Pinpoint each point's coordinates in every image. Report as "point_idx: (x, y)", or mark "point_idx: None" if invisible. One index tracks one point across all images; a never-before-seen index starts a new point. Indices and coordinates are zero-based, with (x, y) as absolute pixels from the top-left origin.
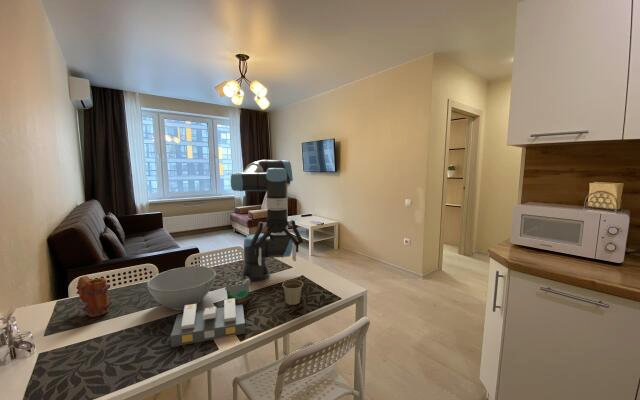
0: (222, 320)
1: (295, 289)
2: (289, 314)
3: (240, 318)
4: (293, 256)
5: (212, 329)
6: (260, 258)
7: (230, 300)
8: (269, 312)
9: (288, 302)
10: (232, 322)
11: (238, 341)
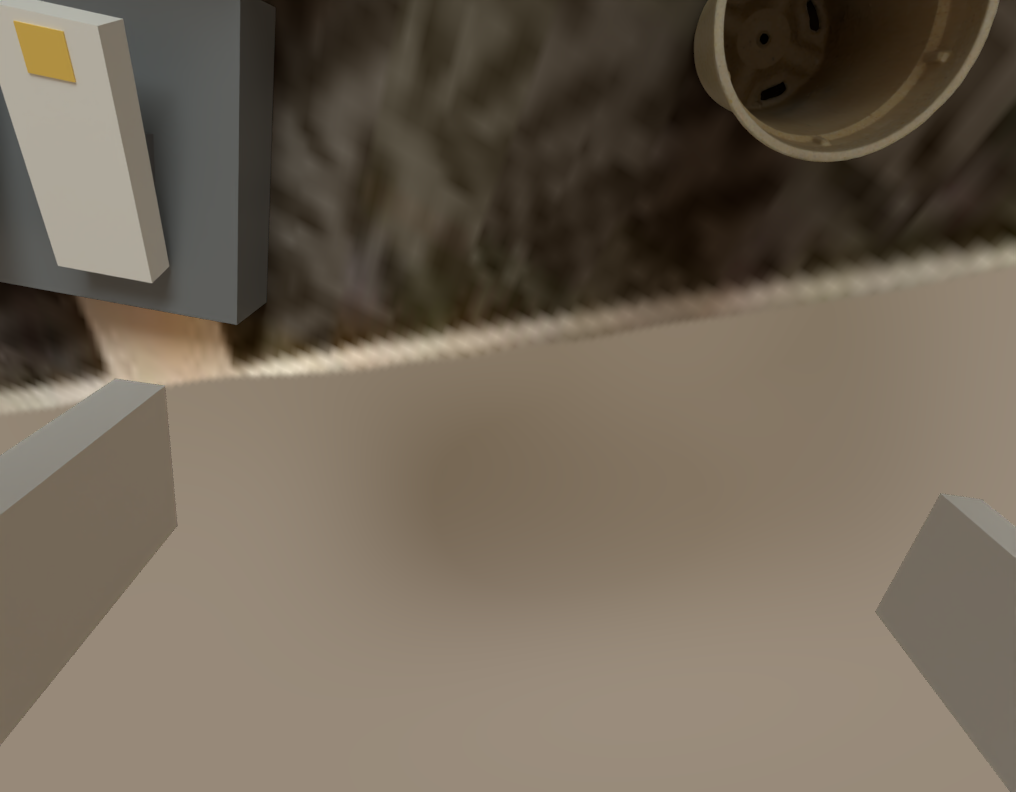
0: None
1: (800, 147)
2: (623, 234)
3: (207, 247)
4: (964, 642)
5: (5, 281)
6: (49, 651)
7: (52, 49)
8: (495, 118)
9: (701, 75)
10: None
11: (220, 360)
